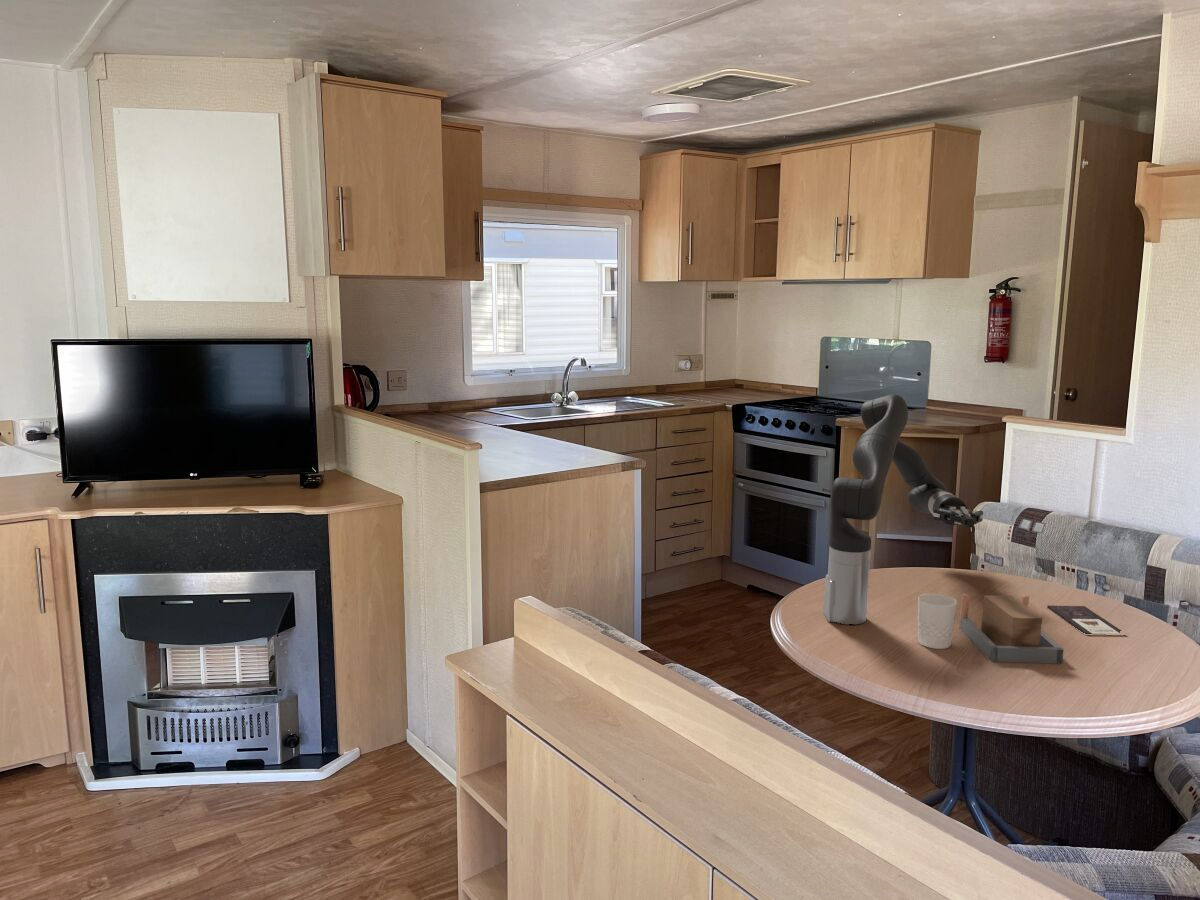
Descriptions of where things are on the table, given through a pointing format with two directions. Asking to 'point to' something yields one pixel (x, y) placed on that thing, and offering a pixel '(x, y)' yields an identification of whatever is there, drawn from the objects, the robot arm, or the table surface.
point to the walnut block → (1010, 622)
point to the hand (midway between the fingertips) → (970, 523)
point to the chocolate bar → (1084, 620)
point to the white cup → (936, 620)
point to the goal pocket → (1041, 654)
